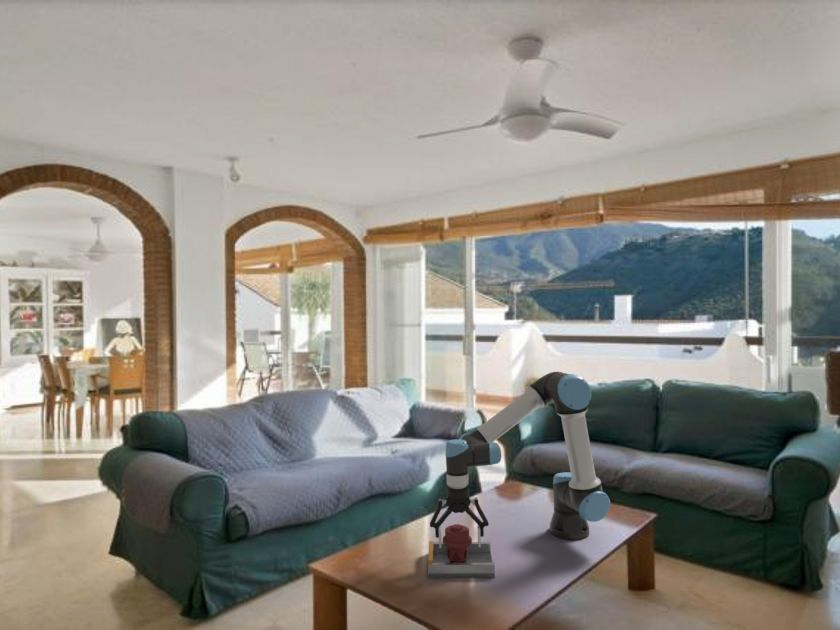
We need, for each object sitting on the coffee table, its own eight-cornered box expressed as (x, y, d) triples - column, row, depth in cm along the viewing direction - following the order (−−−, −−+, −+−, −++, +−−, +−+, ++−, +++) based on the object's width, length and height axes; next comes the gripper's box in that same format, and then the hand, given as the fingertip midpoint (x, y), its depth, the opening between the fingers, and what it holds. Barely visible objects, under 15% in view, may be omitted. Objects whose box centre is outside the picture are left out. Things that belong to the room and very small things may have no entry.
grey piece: (490, 552, 207) (490, 538, 206) (495, 578, 188) (494, 562, 188) (429, 553, 208) (429, 538, 207) (428, 578, 189) (428, 562, 188)
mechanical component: (473, 556, 202) (470, 569, 192) (445, 554, 203) (441, 567, 194) (472, 521, 201) (469, 532, 191) (444, 520, 203) (440, 531, 193)
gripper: (492, 481, 200) (495, 540, 201) (422, 482, 201) (424, 542, 202) (494, 488, 193) (497, 550, 193) (421, 489, 194) (423, 551, 194)
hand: (459, 546), depth 198 cm, fingers open, 13 cm apart
